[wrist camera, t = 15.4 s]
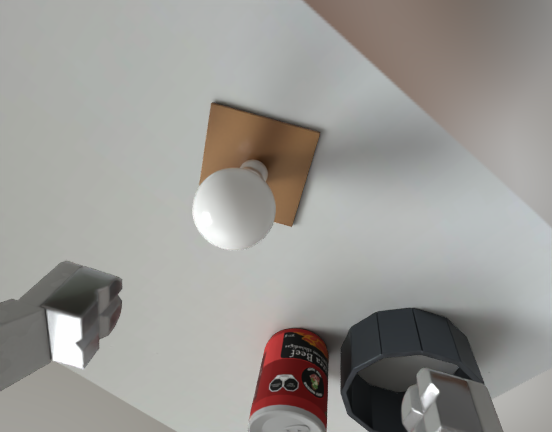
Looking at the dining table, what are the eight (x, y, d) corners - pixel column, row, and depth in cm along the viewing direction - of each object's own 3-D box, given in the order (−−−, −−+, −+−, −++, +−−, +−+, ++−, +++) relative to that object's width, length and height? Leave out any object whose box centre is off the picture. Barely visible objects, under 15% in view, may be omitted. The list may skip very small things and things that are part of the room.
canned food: (342, 350, 46) (342, 440, 36) (299, 379, 50) (289, 468, 40) (294, 315, 44) (281, 399, 35) (253, 348, 48) (232, 432, 39)
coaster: (320, 132, 34) (320, 133, 33) (292, 225, 39) (291, 226, 38) (212, 102, 34) (211, 103, 34) (198, 198, 39) (196, 200, 39)
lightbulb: (249, 123, 34) (211, 170, 24) (302, 168, 35) (286, 230, 26) (210, 171, 37) (163, 230, 27) (260, 212, 38) (233, 281, 29)
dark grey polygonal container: (492, 330, 41) (514, 376, 36) (435, 406, 48) (446, 455, 43) (366, 294, 41) (369, 335, 36) (327, 375, 49) (326, 419, 43)
